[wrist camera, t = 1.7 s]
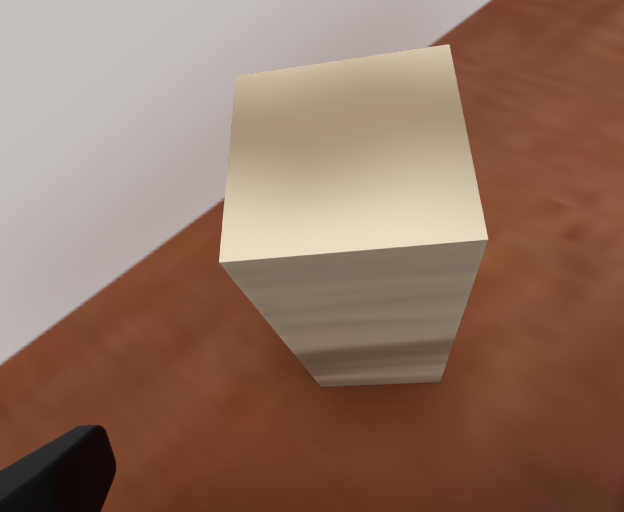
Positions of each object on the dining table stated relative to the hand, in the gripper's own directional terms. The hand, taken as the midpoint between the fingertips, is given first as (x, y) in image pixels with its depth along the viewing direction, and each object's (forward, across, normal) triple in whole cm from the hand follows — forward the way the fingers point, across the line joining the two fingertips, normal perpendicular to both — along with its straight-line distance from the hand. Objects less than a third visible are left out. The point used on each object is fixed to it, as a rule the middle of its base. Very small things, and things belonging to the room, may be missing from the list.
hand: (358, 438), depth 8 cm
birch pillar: (+12, 0, +4) cm, 13 cm away
